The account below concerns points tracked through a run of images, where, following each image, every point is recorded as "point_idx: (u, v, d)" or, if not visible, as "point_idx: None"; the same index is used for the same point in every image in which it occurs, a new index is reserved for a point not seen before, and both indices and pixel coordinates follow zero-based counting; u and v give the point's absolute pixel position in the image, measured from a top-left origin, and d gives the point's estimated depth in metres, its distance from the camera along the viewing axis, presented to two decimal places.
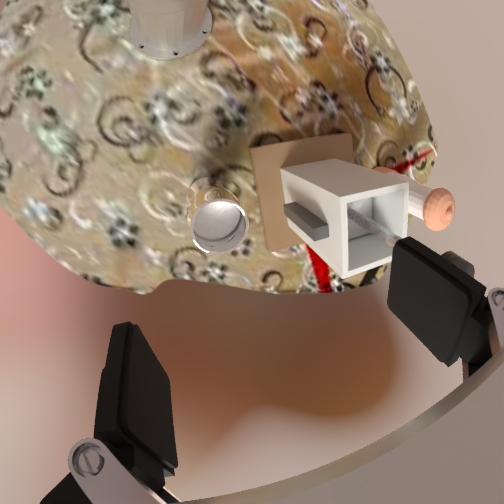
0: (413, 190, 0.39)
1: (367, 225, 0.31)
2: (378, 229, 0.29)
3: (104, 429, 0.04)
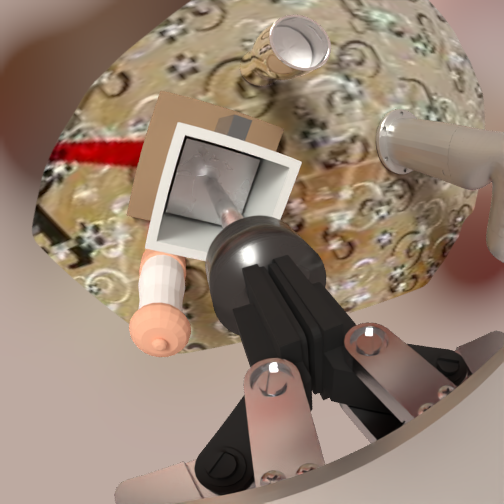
0: (179, 297, 0.33)
1: (224, 191, 0.23)
2: None
3: (286, 342, 0.06)
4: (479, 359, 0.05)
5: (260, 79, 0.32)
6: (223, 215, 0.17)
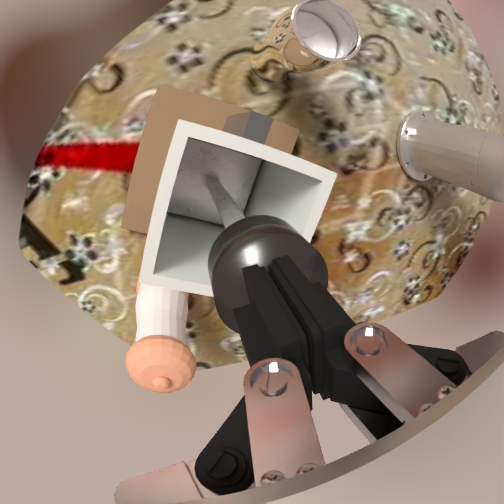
0: (182, 325, 0.29)
1: (226, 190, 0.23)
2: None
3: (286, 342, 0.06)
4: (480, 359, 0.05)
5: (274, 72, 0.27)
6: (225, 215, 0.17)
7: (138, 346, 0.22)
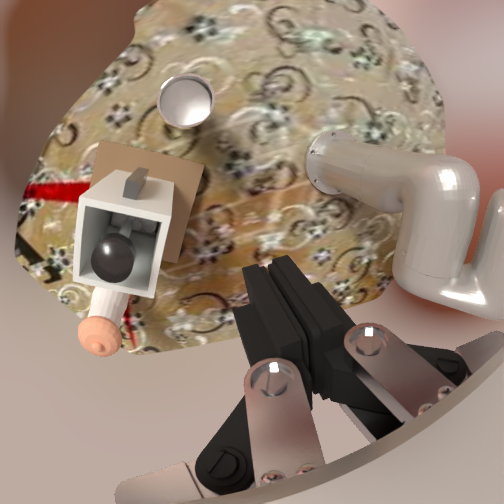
0: (117, 311, 0.39)
1: None
2: (133, 219, 0.35)
3: (287, 342, 0.06)
4: (479, 359, 0.05)
5: None
6: None
7: (83, 322, 0.33)
